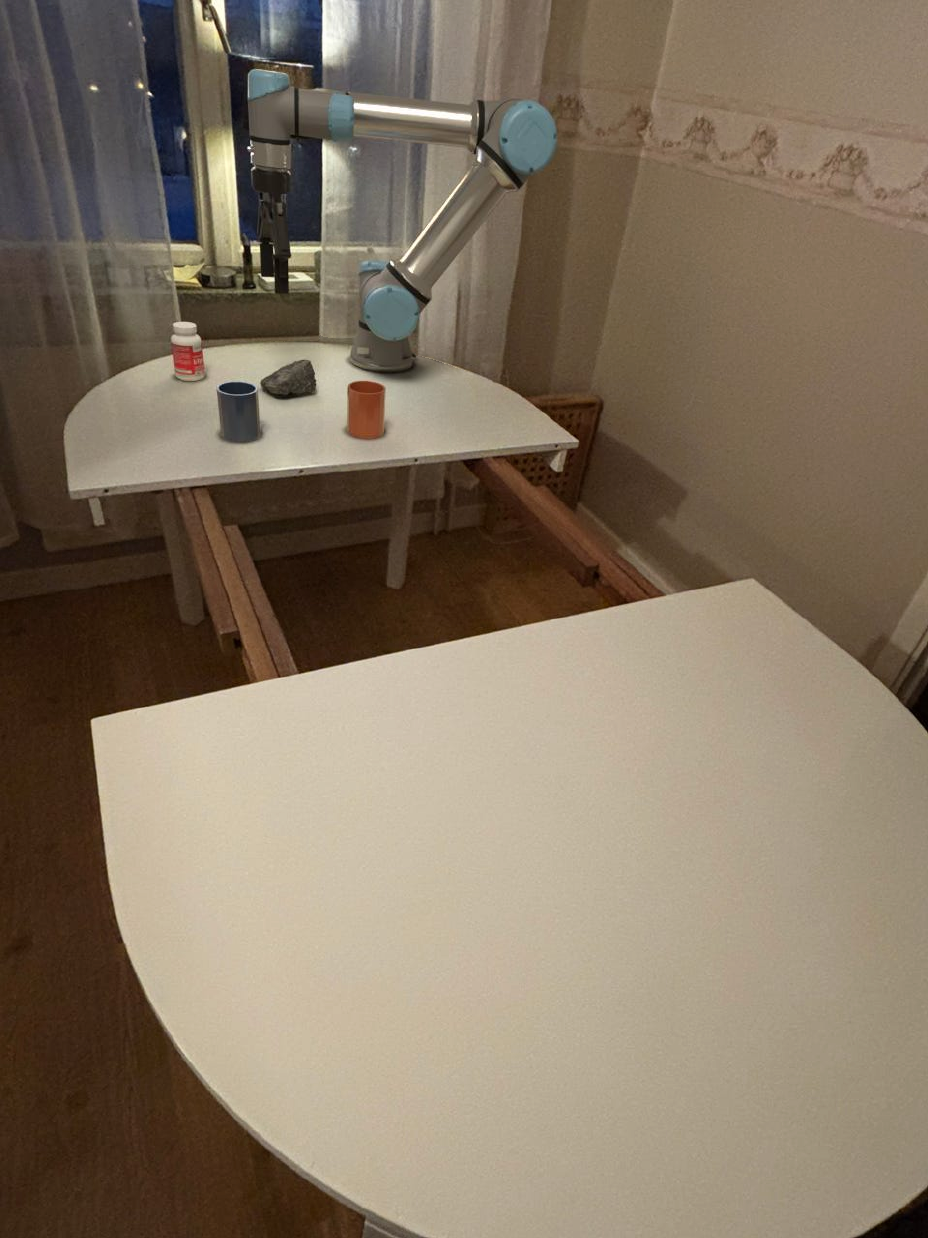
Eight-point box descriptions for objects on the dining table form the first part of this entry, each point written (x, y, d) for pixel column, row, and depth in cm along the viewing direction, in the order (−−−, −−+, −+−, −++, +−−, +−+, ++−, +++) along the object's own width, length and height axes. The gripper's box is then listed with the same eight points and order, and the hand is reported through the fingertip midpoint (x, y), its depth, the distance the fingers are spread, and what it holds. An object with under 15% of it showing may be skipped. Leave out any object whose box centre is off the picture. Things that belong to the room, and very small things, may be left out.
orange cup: (379, 424, 151) (380, 380, 146) (387, 438, 146) (389, 393, 140) (344, 424, 149) (344, 380, 144) (351, 439, 144) (351, 394, 138)
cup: (258, 426, 144) (255, 381, 138) (262, 441, 138) (259, 394, 133) (219, 427, 141) (215, 381, 136) (222, 443, 136) (217, 395, 131)
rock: (257, 387, 160) (255, 360, 156) (303, 381, 166) (303, 354, 162) (275, 403, 155) (273, 375, 151) (322, 396, 160) (322, 369, 157)
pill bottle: (199, 383, 159) (194, 330, 152) (171, 379, 159) (164, 326, 152) (209, 373, 164) (204, 322, 157) (181, 370, 164) (175, 318, 157)
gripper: (239, 157, 151) (244, 269, 163) (265, 176, 133) (269, 300, 146) (276, 161, 154) (279, 270, 166) (306, 179, 136) (307, 300, 149)
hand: (274, 284), depth 156 cm, fingers open, 13 cm apart
